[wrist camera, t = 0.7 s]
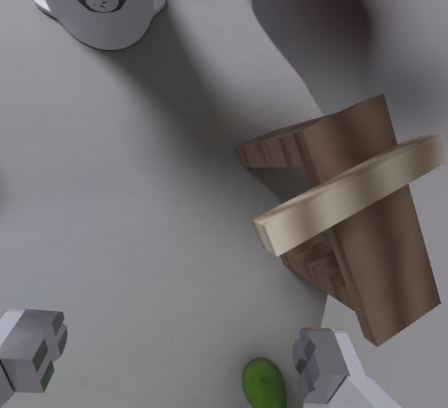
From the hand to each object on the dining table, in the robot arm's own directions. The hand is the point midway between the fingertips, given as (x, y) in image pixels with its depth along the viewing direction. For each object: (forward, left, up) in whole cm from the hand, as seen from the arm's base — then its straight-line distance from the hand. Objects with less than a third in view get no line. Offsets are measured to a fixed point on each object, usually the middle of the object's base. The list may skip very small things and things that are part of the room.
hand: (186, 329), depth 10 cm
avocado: (+37, +14, -42) cm, 58 cm away
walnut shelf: (+4, +23, -41) cm, 47 cm away
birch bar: (-1, +19, -15) cm, 24 cm away
